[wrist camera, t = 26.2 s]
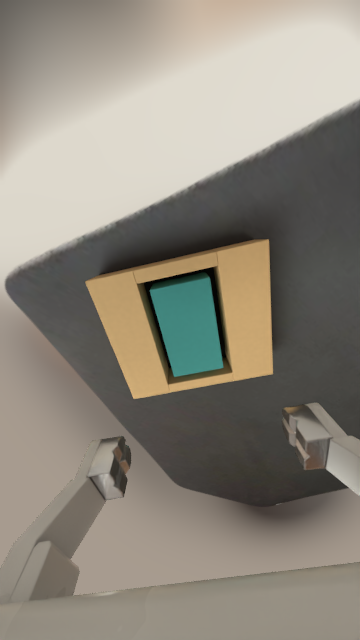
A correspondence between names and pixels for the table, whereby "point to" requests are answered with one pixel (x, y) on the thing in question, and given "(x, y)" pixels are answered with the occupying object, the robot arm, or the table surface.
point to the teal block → (188, 323)
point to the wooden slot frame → (234, 305)
